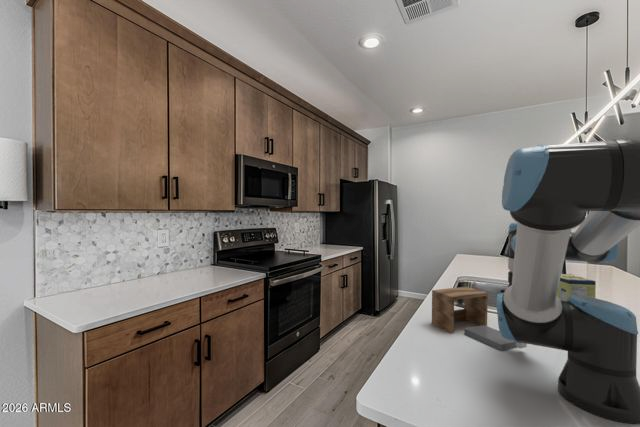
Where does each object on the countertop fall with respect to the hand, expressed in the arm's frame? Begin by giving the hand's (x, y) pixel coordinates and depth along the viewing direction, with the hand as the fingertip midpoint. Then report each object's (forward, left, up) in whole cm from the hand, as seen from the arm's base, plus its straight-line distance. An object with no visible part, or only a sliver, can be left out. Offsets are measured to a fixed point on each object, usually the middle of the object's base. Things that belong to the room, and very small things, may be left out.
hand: (521, 346), depth 93 cm
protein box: (+20, -63, -2) cm, 66 cm away
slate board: (+10, 0, -2) cm, 10 cm away
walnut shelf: (+24, 0, -2) cm, 24 cm away
